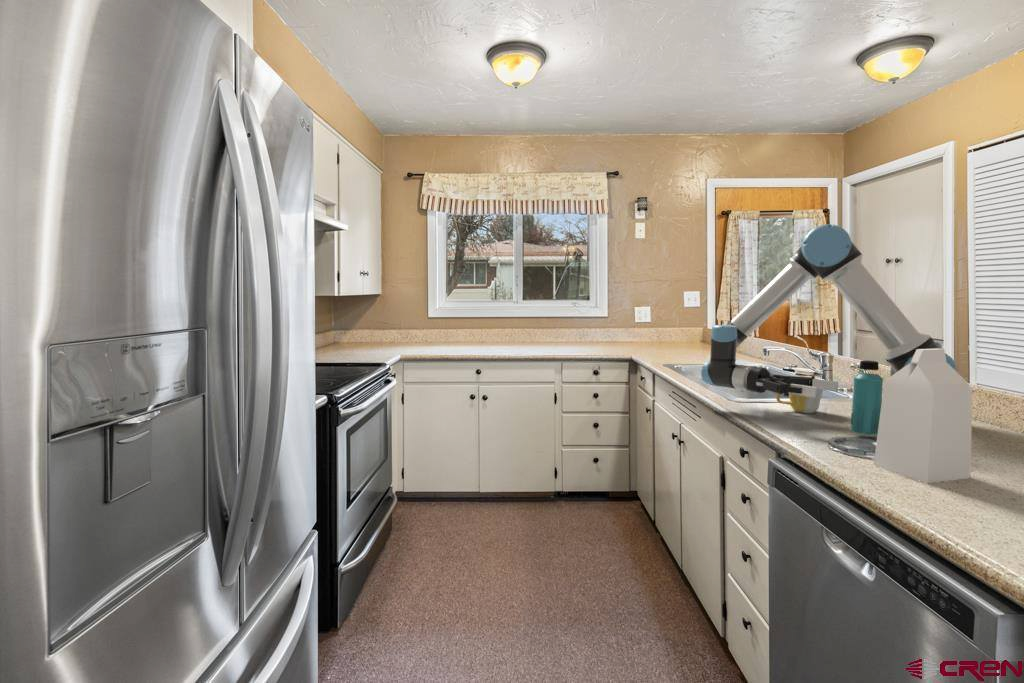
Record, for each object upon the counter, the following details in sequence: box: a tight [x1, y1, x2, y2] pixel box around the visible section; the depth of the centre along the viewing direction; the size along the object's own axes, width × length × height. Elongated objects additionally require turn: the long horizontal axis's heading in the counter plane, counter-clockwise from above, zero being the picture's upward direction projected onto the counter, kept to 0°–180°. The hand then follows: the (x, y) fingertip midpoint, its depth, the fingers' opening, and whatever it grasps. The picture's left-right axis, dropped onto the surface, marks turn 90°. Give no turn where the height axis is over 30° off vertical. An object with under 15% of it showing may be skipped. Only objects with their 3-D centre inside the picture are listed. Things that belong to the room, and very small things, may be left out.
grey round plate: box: [826, 436, 877, 459], centre depth 129 cm, size 14×14×1 cm
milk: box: [873, 348, 973, 484], centre depth 113 cm, size 12×12×26 cm
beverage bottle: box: [850, 360, 884, 436], centre depth 139 cm, size 6×7×20 cm
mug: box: [775, 375, 825, 414], centre depth 170 cm, size 14×10×10 cm
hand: (827, 389), depth 147 cm, fingers open, 13 cm apart
